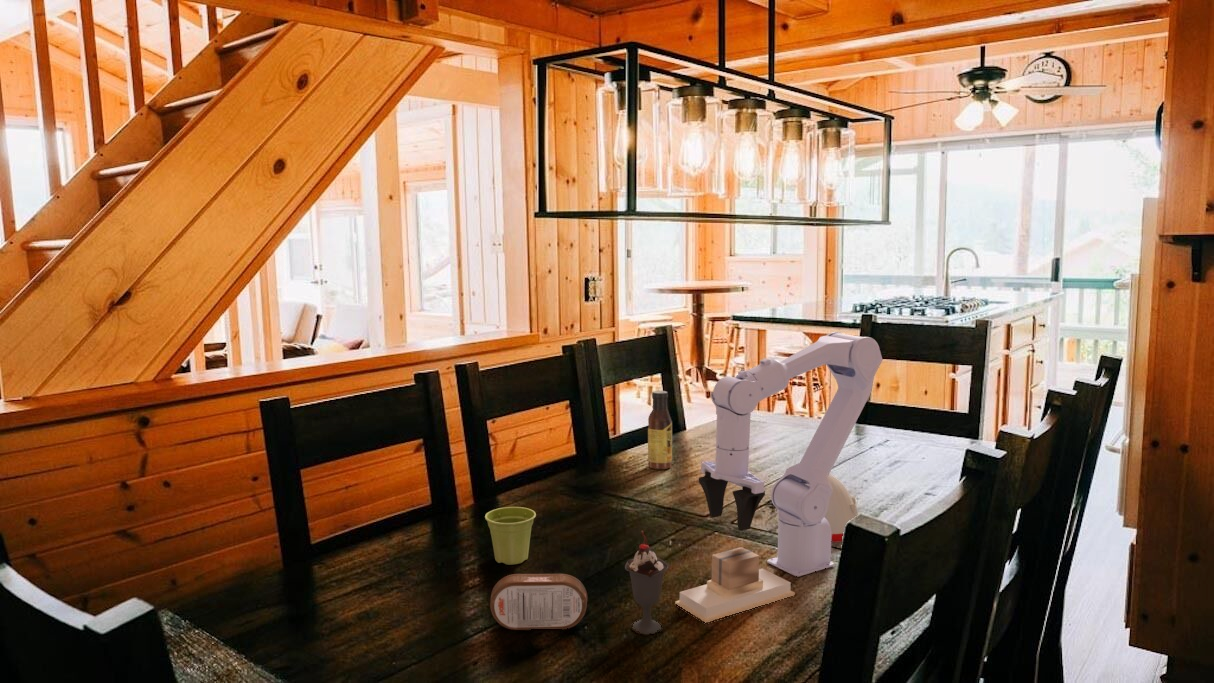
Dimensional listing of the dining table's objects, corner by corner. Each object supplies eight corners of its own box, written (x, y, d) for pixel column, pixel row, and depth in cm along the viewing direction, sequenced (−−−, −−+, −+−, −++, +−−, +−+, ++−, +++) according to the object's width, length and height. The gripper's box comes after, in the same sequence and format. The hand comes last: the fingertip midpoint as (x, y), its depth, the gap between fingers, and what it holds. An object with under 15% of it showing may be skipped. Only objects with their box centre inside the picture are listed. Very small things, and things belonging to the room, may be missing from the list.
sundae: (641, 613, 134) (641, 524, 132) (676, 626, 129) (677, 533, 127) (616, 629, 128) (615, 535, 126) (651, 642, 124) (651, 546, 122)
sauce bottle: (672, 470, 213) (673, 394, 210) (648, 470, 213) (648, 394, 211) (671, 463, 220) (671, 389, 217) (647, 463, 220) (647, 389, 217)
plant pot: (481, 553, 159) (480, 509, 158) (529, 546, 162) (528, 503, 161) (492, 572, 150) (491, 526, 149) (542, 564, 153) (541, 519, 152)
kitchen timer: (857, 521, 176) (860, 452, 174) (858, 545, 163) (861, 470, 161) (790, 515, 180) (792, 448, 178) (786, 538, 166) (788, 465, 164)
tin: (587, 622, 131) (587, 571, 130) (587, 631, 128) (587, 579, 127) (491, 623, 131) (490, 572, 129) (489, 633, 127) (488, 581, 126)
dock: (675, 604, 137) (675, 591, 136) (762, 579, 147) (762, 566, 146) (705, 624, 130) (705, 610, 130) (794, 595, 140) (794, 582, 140)
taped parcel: (743, 577, 142) (744, 545, 141) (763, 587, 138) (763, 554, 137) (706, 587, 138) (707, 555, 137) (725, 598, 134) (726, 565, 133)
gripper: (688, 440, 148) (686, 514, 149) (742, 459, 135) (739, 539, 137) (719, 435, 151) (716, 508, 153) (774, 454, 139) (771, 532, 141)
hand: (729, 522), depth 145 cm, fingers open, 7 cm apart
